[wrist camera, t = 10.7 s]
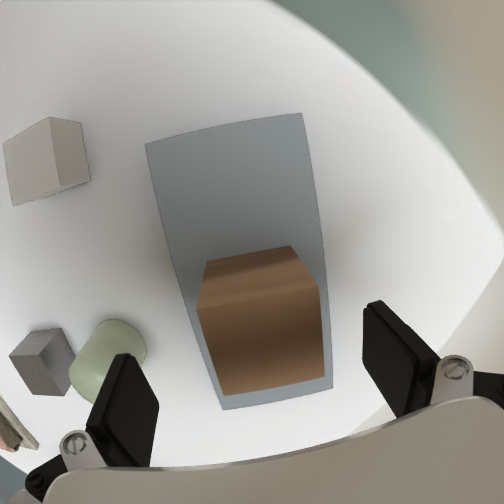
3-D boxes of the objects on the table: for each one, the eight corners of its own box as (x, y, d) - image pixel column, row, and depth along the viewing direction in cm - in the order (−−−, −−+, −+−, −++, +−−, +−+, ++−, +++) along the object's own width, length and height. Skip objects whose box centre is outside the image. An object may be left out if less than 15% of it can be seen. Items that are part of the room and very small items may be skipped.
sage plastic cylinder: (86, 322, 19) (57, 360, 15) (134, 316, 19) (112, 357, 15) (108, 367, 21) (88, 408, 16) (154, 363, 21) (140, 409, 16)
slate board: (150, 145, 16) (144, 144, 15) (297, 116, 16) (302, 112, 15) (223, 400, 22) (222, 410, 21) (329, 378, 22) (333, 388, 21)
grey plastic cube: (37, 143, 15) (2, 143, 11) (81, 123, 15) (49, 116, 11) (47, 196, 16) (13, 206, 13) (91, 180, 16) (60, 185, 13)
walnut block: (206, 261, 17) (196, 309, 11) (290, 245, 17) (318, 285, 12) (224, 332, 19) (223, 396, 13) (299, 317, 19) (324, 376, 13)
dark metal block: (31, 331, 19) (8, 355, 16) (61, 327, 19) (38, 354, 16) (51, 367, 21) (32, 394, 17) (81, 366, 21) (64, 396, 17)
